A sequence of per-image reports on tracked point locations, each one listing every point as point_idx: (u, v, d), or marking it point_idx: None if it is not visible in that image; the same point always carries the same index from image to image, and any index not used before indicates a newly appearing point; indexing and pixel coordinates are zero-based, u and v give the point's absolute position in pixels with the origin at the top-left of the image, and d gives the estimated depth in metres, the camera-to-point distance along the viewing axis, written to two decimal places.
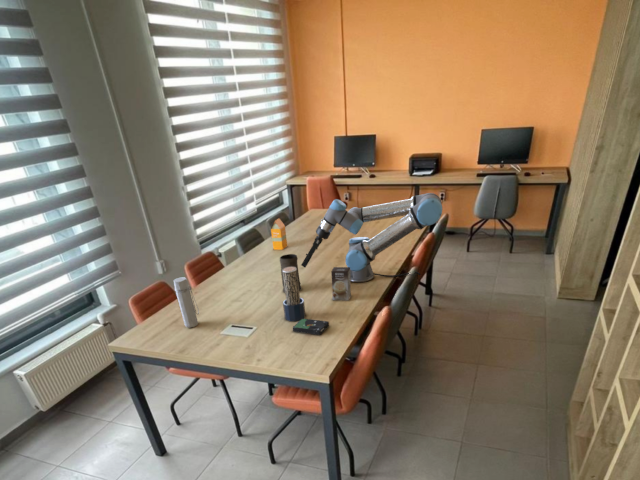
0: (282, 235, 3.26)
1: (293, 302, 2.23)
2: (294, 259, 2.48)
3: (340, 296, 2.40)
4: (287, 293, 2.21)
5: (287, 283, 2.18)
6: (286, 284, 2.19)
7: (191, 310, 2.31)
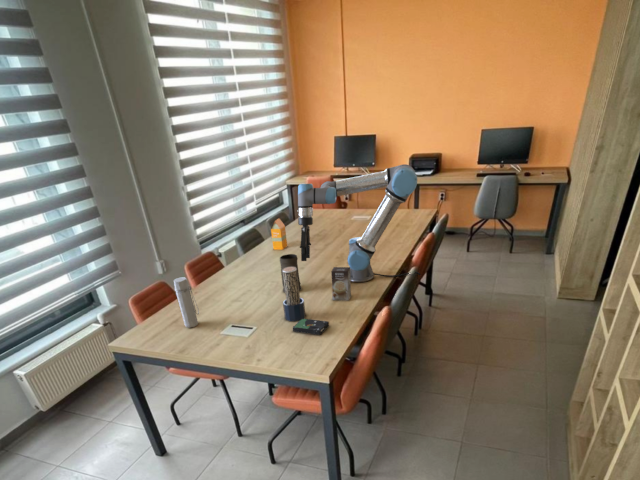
0: (282, 235, 3.26)
1: (293, 302, 2.23)
2: (294, 259, 2.48)
3: (340, 296, 2.40)
4: (287, 293, 2.21)
5: (287, 283, 2.18)
6: (286, 284, 2.19)
7: (191, 310, 2.31)
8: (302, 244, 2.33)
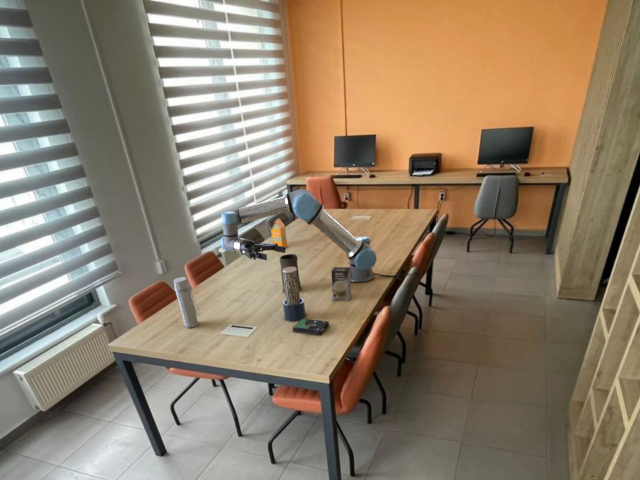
0: (282, 235, 3.26)
1: (293, 302, 2.23)
2: (294, 259, 2.48)
3: (340, 296, 2.40)
4: (287, 293, 2.21)
5: (287, 283, 2.18)
6: (286, 284, 2.19)
7: (191, 310, 2.31)
8: None
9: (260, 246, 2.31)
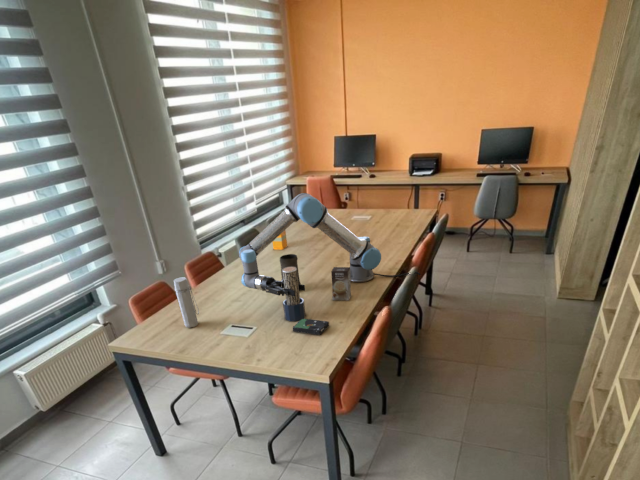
0: (282, 235, 3.26)
1: (293, 302, 2.23)
2: (294, 259, 2.48)
3: (340, 296, 2.40)
4: None
5: (287, 283, 2.18)
6: (286, 284, 2.19)
7: (191, 310, 2.31)
8: None
9: None
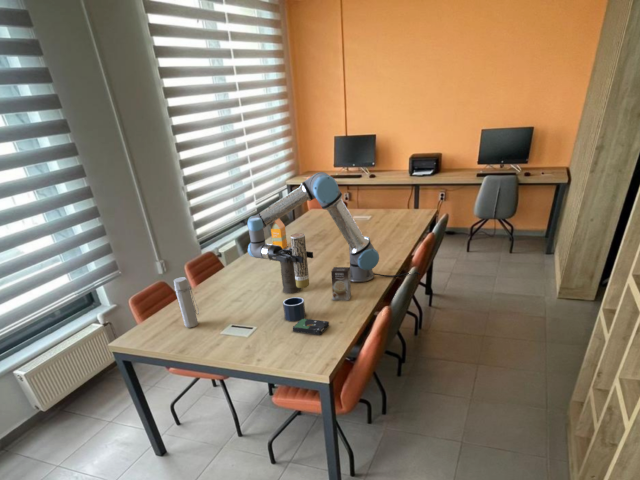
0: (282, 235, 3.26)
1: (301, 270, 2.19)
2: None
3: (340, 296, 2.40)
4: None
5: (295, 250, 2.14)
6: (294, 251, 2.15)
7: (191, 310, 2.31)
8: None
9: None
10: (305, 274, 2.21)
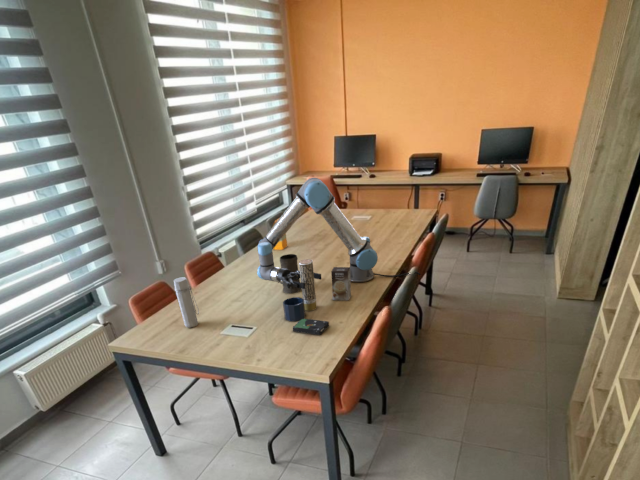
0: None
1: (309, 294, 2.29)
2: (294, 259, 2.48)
3: (340, 296, 2.40)
4: None
5: (303, 275, 2.24)
6: (302, 276, 2.25)
7: (191, 310, 2.31)
8: None
9: (296, 274, 2.38)
10: (312, 298, 2.31)
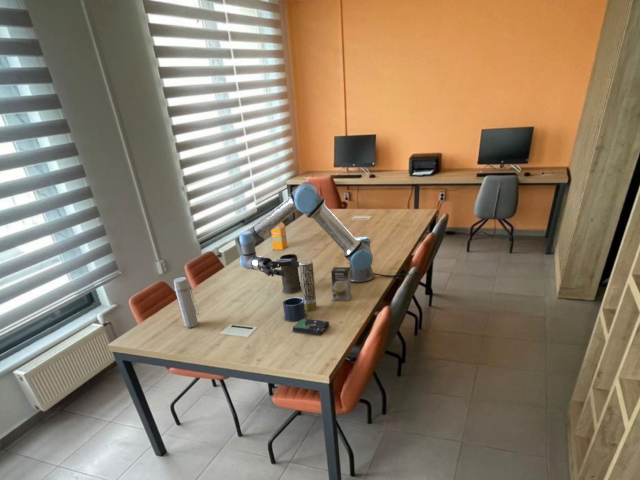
0: (282, 235, 3.26)
1: (309, 294, 2.29)
2: (294, 259, 2.48)
3: (340, 296, 2.40)
4: (303, 285, 2.28)
5: (303, 275, 2.24)
6: (302, 276, 2.25)
7: (191, 310, 2.31)
8: None
9: (277, 262, 2.43)
10: (312, 298, 2.31)
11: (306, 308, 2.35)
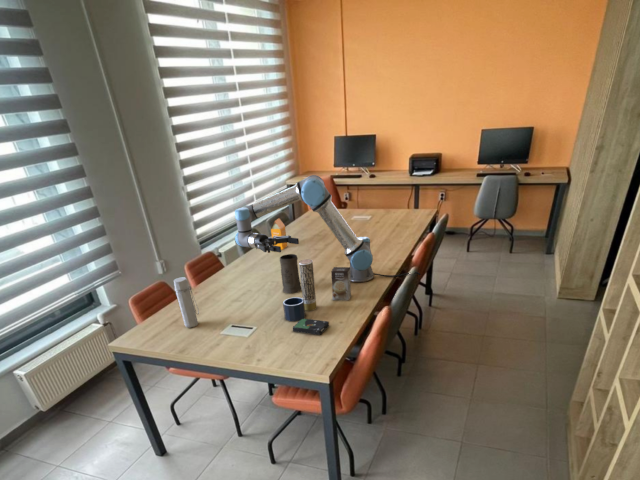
0: (282, 235, 3.26)
1: (309, 294, 2.29)
2: (294, 259, 2.48)
3: (340, 296, 2.40)
4: (303, 285, 2.28)
5: (303, 275, 2.24)
6: (302, 276, 2.25)
7: (191, 310, 2.31)
8: None
9: (274, 239, 2.36)
10: (312, 298, 2.31)
11: (306, 308, 2.35)
